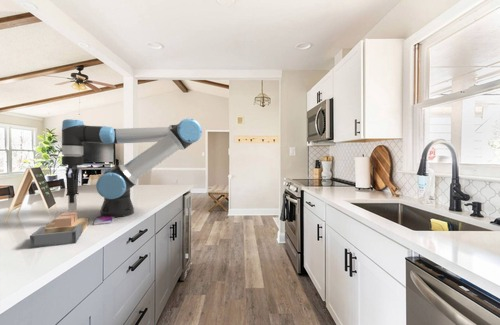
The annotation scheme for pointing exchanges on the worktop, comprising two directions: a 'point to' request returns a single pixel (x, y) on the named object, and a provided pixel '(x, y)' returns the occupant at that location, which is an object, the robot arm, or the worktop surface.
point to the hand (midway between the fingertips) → (72, 209)
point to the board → (52, 229)
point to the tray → (54, 237)
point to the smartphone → (102, 220)
